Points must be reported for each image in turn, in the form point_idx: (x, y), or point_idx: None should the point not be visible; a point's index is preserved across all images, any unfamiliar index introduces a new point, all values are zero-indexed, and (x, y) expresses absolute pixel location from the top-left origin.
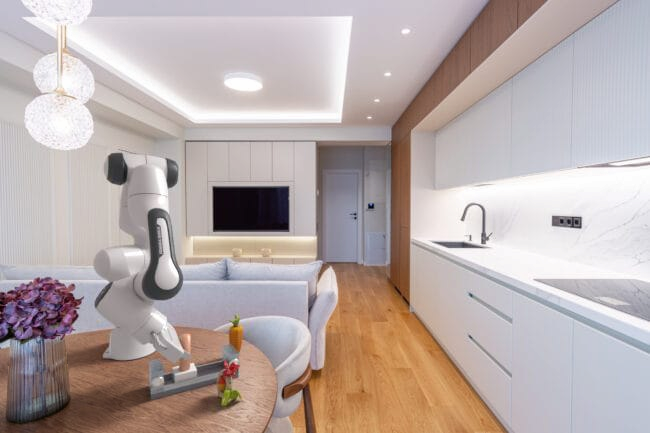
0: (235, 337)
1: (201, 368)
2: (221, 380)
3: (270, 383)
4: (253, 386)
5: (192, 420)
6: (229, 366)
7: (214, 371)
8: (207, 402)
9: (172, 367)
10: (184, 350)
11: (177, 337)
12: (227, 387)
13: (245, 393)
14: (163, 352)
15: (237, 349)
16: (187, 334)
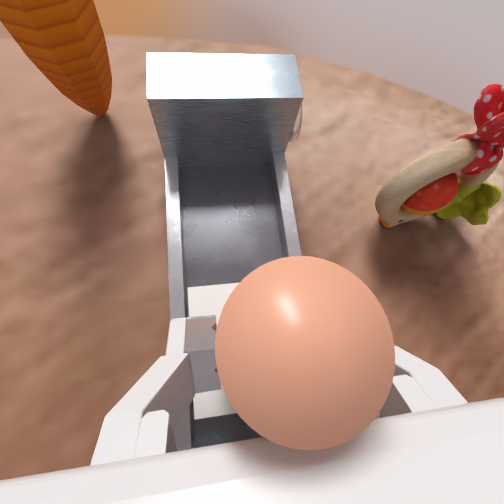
0: (83, 5)
1: (183, 256)
2: (455, 188)
3: (351, 73)
4: (352, 118)
5: (497, 324)
6: (490, 118)
7: (226, 208)
8: (407, 266)
9: (198, 418)
10: (402, 352)
11: (261, 479)
12: (484, 180)
13: (386, 149)
14: None
15: (110, 70)
16: (275, 302)
